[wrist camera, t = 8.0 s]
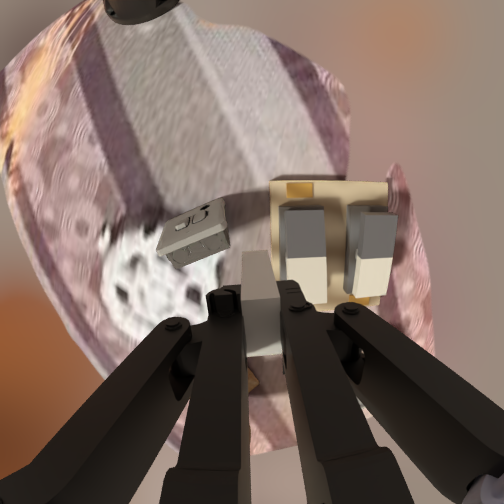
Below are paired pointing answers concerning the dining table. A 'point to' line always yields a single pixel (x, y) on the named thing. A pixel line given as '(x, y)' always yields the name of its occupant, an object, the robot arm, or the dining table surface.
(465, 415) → the robot arm
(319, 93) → the dining table surface
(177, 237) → the electrical switch
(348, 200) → the switch board
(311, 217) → the rocker
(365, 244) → the rocker
